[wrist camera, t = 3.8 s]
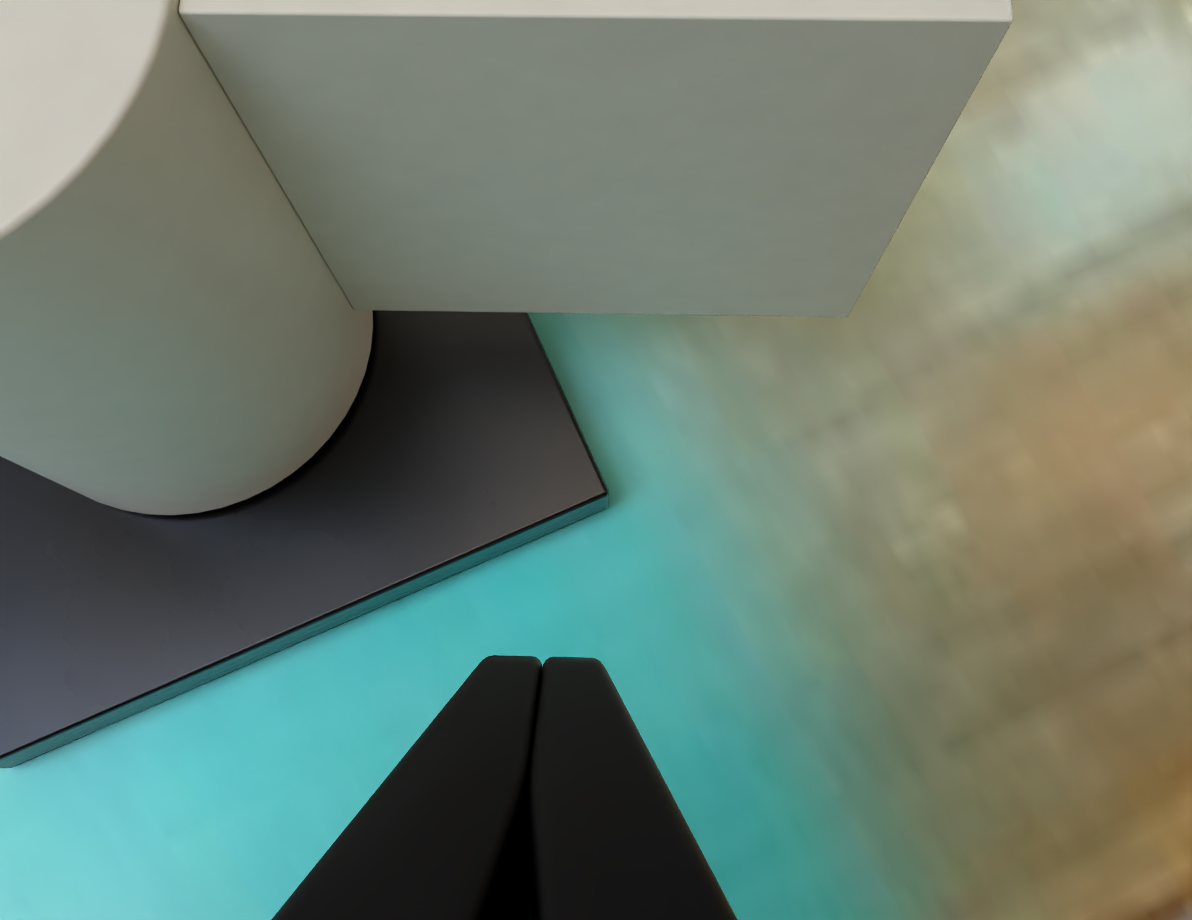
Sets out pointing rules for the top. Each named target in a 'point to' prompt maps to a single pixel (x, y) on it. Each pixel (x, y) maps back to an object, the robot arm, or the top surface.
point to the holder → (288, 532)
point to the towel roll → (418, 195)
